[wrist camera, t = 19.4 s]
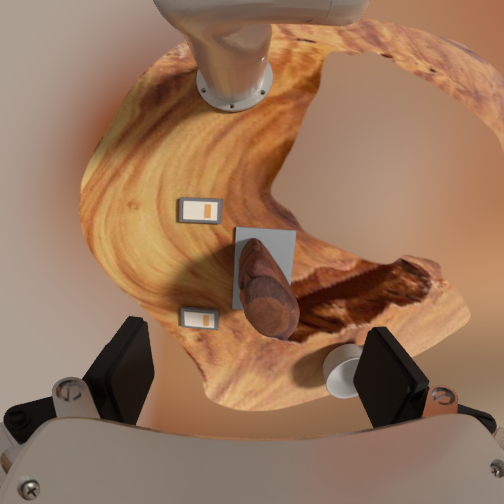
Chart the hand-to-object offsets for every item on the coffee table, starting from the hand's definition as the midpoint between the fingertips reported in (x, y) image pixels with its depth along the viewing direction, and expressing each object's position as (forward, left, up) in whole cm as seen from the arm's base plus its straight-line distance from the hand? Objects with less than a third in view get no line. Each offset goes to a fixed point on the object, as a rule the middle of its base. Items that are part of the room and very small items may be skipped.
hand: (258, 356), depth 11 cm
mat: (+9, +3, -36) cm, 38 cm away
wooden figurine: (+8, +3, -36) cm, 37 cm away
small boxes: (+9, -8, -36) cm, 38 cm away
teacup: (+27, +23, -37) cm, 51 cm away
